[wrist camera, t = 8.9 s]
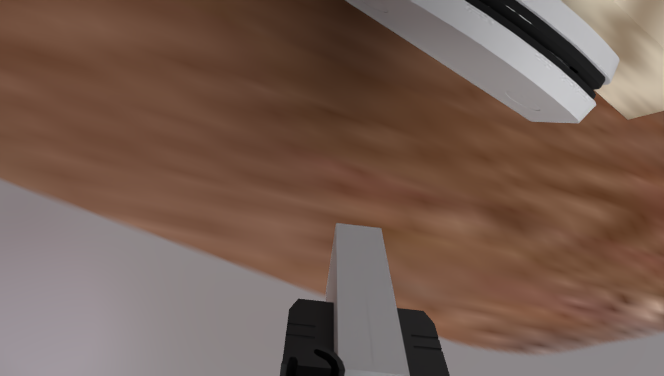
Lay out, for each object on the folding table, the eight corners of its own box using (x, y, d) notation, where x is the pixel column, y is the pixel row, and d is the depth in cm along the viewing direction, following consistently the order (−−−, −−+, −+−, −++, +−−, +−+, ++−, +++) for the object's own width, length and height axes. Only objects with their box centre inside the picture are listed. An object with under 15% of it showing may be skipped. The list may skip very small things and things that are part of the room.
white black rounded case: (560, 60, 33) (678, 52, 24) (521, 121, 34) (621, 138, 24) (350, -86, 30) (389, -165, 20) (311, -15, 30) (331, -59, 21)
